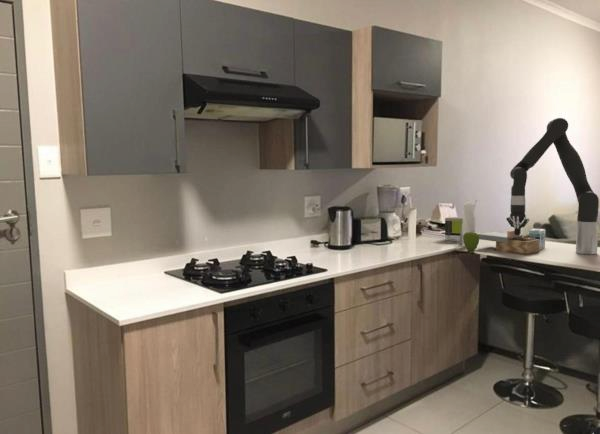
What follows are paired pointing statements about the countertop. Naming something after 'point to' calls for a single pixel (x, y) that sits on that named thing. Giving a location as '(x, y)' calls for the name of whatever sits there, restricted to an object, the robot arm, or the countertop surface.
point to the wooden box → (519, 246)
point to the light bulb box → (538, 236)
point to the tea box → (453, 228)
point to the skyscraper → (467, 220)
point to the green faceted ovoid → (471, 241)
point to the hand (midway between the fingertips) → (517, 235)
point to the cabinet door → (498, 236)
